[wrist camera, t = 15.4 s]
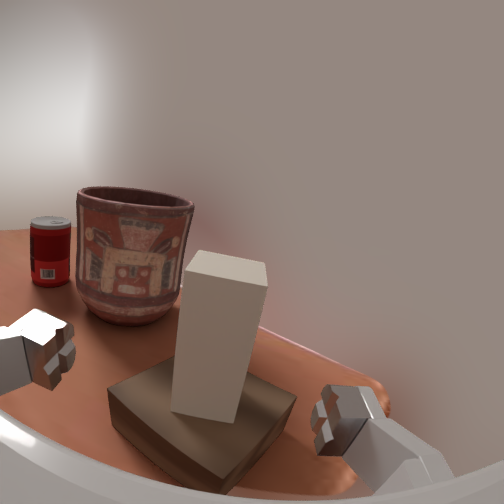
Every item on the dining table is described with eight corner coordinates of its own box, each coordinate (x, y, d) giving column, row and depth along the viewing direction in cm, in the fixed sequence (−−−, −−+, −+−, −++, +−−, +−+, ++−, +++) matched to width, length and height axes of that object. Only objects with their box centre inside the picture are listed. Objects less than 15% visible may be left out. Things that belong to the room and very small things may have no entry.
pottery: (58, 293, 41) (62, 184, 37) (140, 279, 56) (152, 188, 51) (104, 352, 32) (108, 206, 27) (201, 321, 46) (221, 208, 42)
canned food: (77, 280, 48) (79, 222, 45) (45, 292, 40) (43, 228, 38) (55, 268, 50) (56, 214, 47) (24, 277, 42) (23, 218, 40)
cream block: (233, 423, 20) (267, 286, 18) (170, 411, 20) (184, 270, 17) (236, 385, 25) (264, 262, 22) (182, 374, 25) (199, 249, 22)
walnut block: (214, 506, 16) (222, 479, 15) (111, 424, 22) (107, 388, 20) (283, 429, 26) (297, 396, 25) (192, 378, 32) (197, 344, 31)
